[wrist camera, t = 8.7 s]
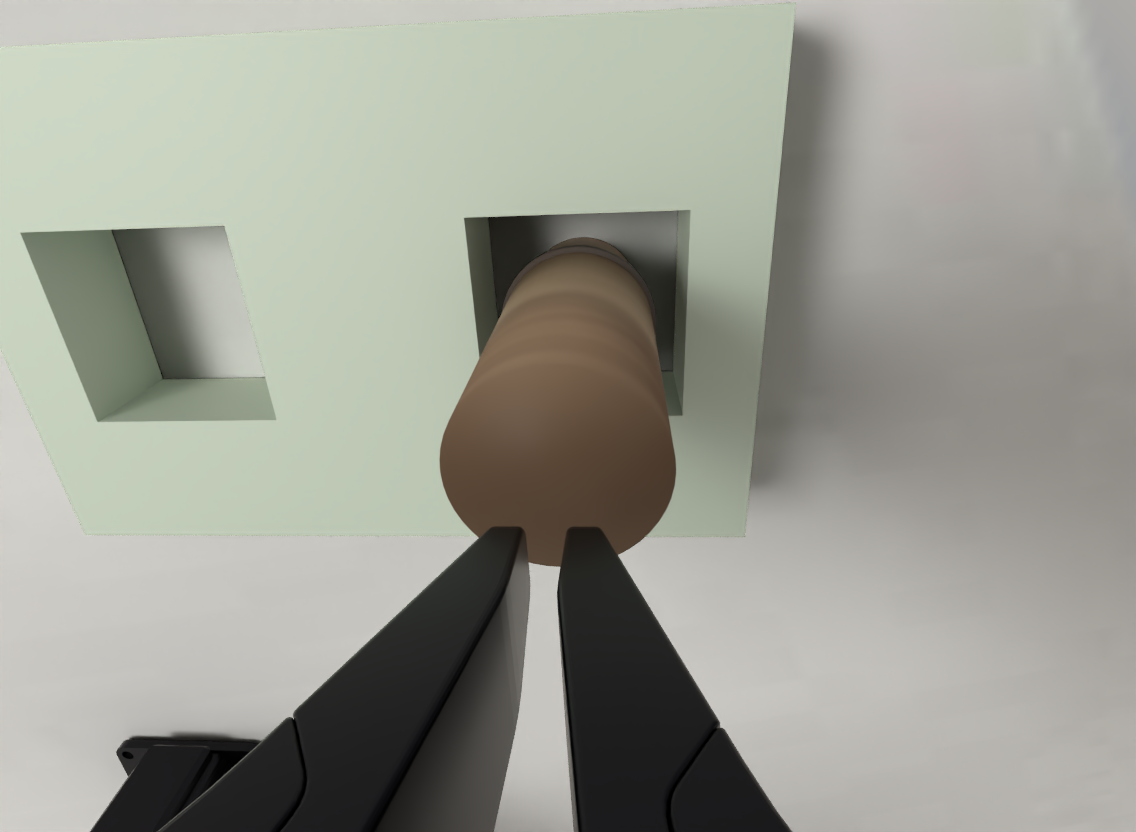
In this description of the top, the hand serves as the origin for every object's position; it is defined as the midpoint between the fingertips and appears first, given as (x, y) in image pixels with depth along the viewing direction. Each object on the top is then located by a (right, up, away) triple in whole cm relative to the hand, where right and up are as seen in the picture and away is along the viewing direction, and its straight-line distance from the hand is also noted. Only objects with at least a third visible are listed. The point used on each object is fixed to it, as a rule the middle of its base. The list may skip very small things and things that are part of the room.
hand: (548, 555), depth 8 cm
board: (-5, +5, +11) cm, 13 cm away
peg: (+1, +5, +11) cm, 12 cm away
